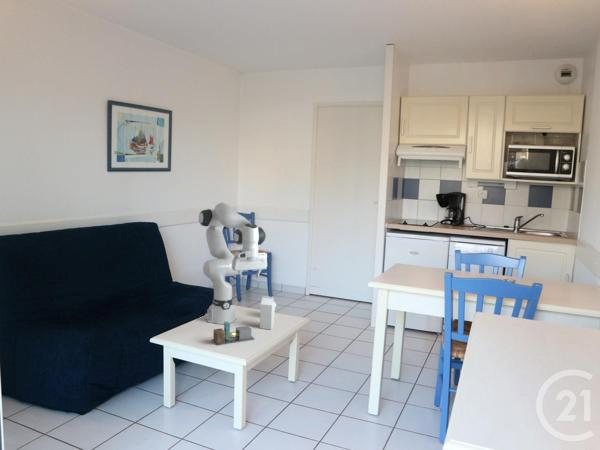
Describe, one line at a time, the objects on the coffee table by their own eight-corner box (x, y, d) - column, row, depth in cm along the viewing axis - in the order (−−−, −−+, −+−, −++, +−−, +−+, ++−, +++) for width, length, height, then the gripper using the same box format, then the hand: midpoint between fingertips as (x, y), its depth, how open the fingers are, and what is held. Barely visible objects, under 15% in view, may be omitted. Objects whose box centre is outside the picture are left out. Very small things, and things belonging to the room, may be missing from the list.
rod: (241, 335, 269) (241, 319, 268) (243, 337, 266) (244, 321, 265) (219, 339, 263) (219, 322, 262) (221, 341, 260) (222, 324, 259)
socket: (221, 339, 265) (221, 328, 264) (225, 343, 260) (225, 331, 259) (213, 340, 263) (213, 329, 262) (217, 344, 257) (217, 332, 257)
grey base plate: (248, 335, 274) (249, 324, 273) (254, 339, 267) (254, 329, 267) (211, 340, 263) (212, 329, 262) (216, 345, 256) (217, 334, 256)
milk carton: (271, 329, 285) (272, 298, 282) (259, 328, 286) (260, 297, 284) (274, 326, 291) (275, 295, 289) (262, 324, 293) (263, 294, 291)
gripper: (264, 251, 274) (263, 275, 276) (231, 253, 264) (230, 277, 265) (269, 253, 269) (268, 277, 270) (235, 255, 258) (234, 280, 260)
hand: (249, 277), depth 268 cm, fingers open, 8 cm apart
